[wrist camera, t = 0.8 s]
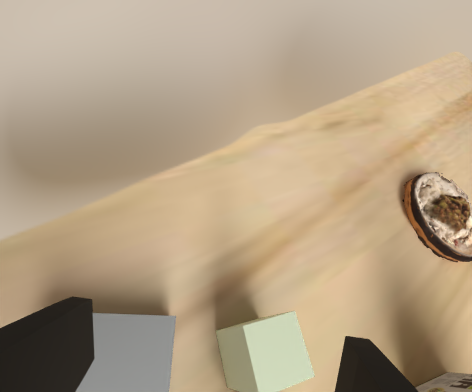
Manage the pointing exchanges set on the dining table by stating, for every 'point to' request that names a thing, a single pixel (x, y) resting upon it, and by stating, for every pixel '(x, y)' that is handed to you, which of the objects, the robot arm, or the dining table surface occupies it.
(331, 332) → the dining table surface
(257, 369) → the sage block
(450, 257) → the cream topped cake
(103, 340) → the gray slab
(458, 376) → the coffee box
